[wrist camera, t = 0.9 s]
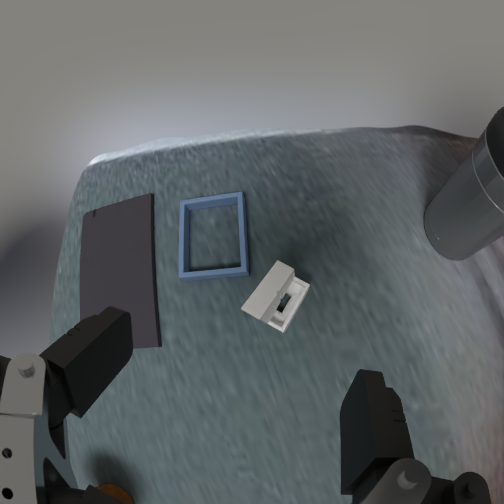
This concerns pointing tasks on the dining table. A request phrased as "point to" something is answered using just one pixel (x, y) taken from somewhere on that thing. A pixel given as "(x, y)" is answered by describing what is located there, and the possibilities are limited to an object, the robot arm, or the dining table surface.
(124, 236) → the notebook
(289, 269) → the white angled block
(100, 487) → the disposable coffee cup
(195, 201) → the blue rectangular frame
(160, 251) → the dining table surface
